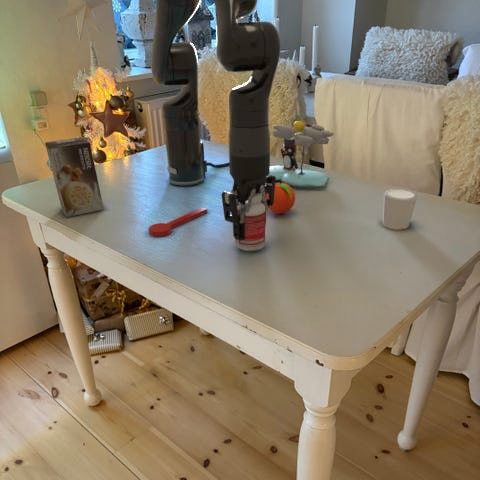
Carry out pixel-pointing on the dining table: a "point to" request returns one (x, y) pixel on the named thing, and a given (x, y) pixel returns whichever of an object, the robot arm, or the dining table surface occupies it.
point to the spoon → (174, 223)
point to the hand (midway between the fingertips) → (250, 233)
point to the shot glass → (398, 208)
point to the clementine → (282, 198)
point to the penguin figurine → (304, 139)
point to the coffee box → (75, 176)
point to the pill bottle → (253, 226)
